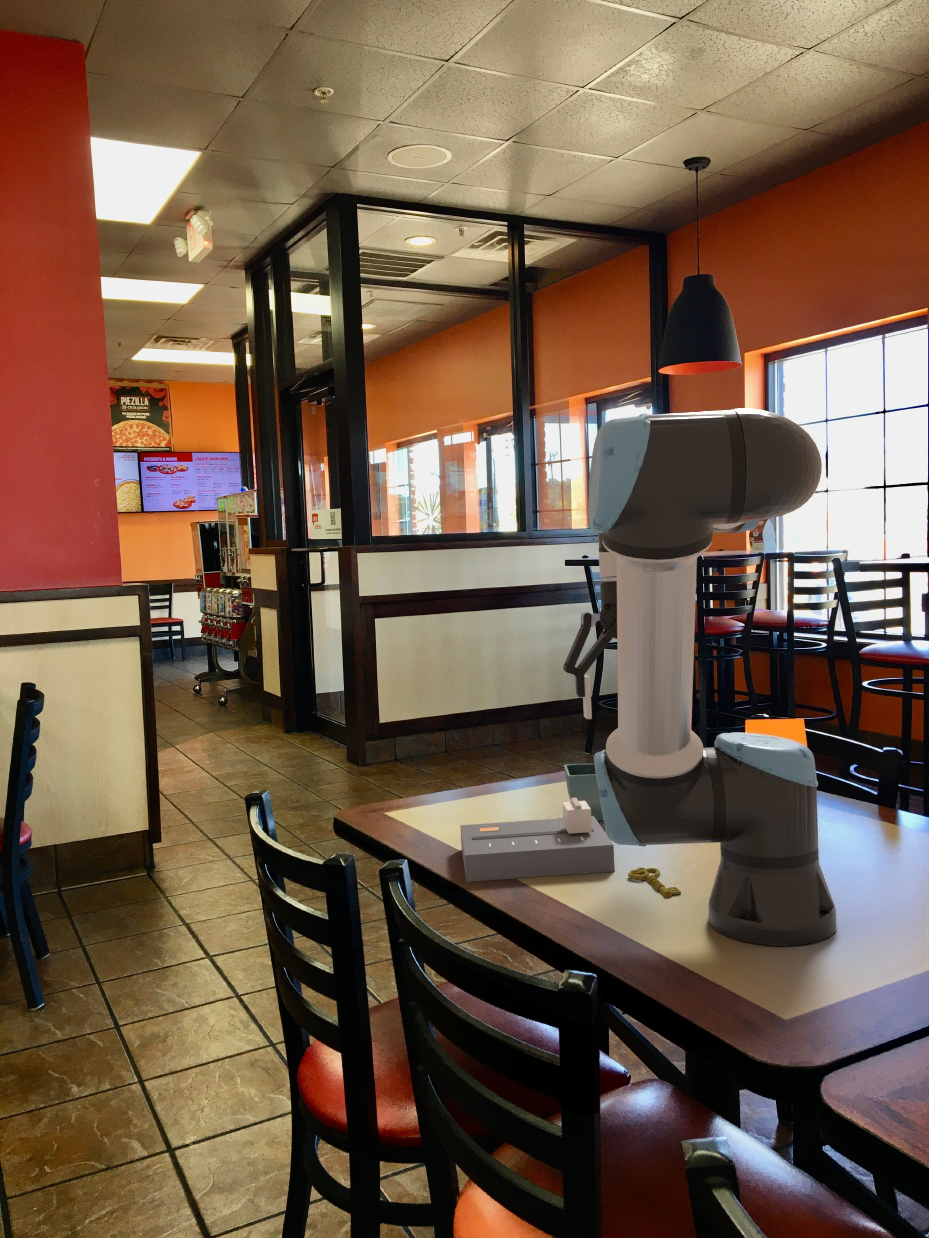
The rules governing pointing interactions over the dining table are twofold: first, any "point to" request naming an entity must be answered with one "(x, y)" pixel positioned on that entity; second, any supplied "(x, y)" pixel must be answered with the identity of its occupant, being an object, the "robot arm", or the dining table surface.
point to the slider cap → (577, 816)
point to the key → (653, 880)
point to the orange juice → (779, 728)
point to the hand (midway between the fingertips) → (630, 715)
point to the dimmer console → (533, 850)
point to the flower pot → (584, 786)
